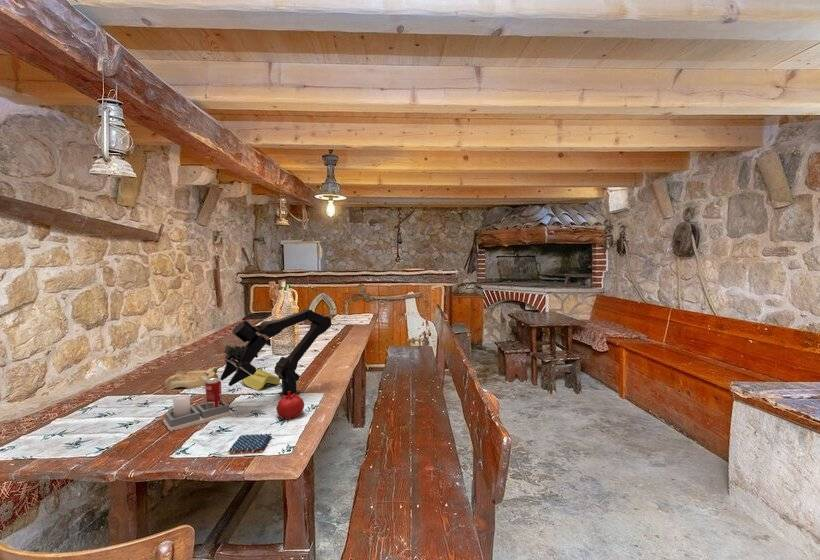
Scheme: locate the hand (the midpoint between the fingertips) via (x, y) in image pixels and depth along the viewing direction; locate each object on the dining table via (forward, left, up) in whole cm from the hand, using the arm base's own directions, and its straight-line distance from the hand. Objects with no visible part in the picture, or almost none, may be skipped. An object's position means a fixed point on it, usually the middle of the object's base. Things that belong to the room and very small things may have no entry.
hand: (225, 382), depth 151 cm
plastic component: (+21, -25, -12) cm, 34 cm away
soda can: (0, +4, -10) cm, 11 cm away
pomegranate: (-22, -14, -11) cm, 29 cm away
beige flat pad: (+49, -6, -12) cm, 50 cm away
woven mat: (-34, +7, -12) cm, 36 cm away
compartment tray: (+1, +10, -11) cm, 15 cm away
